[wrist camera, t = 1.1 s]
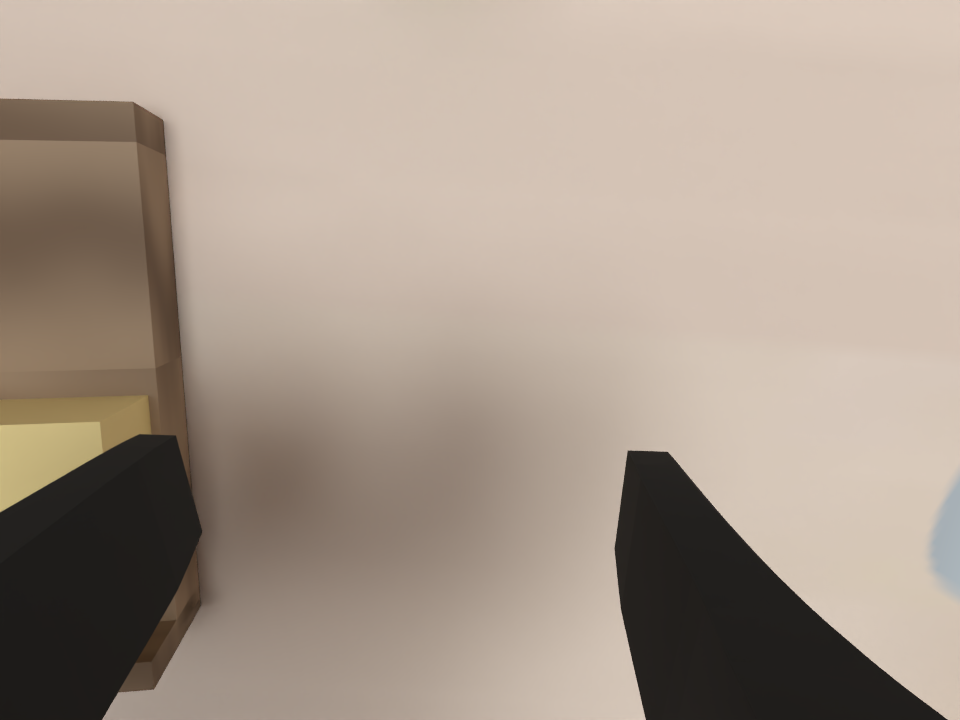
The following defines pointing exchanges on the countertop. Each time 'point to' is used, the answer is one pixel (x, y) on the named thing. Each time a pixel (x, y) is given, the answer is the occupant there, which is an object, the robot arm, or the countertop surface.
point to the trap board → (93, 283)
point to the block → (61, 437)
